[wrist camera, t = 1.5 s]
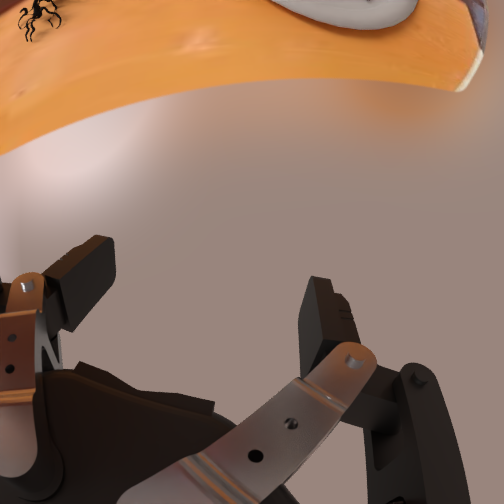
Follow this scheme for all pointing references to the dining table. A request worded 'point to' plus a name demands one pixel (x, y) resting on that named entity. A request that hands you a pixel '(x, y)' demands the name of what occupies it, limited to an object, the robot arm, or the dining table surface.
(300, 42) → the dining table surface
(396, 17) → the plated food
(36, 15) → the creature
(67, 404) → the robot arm
